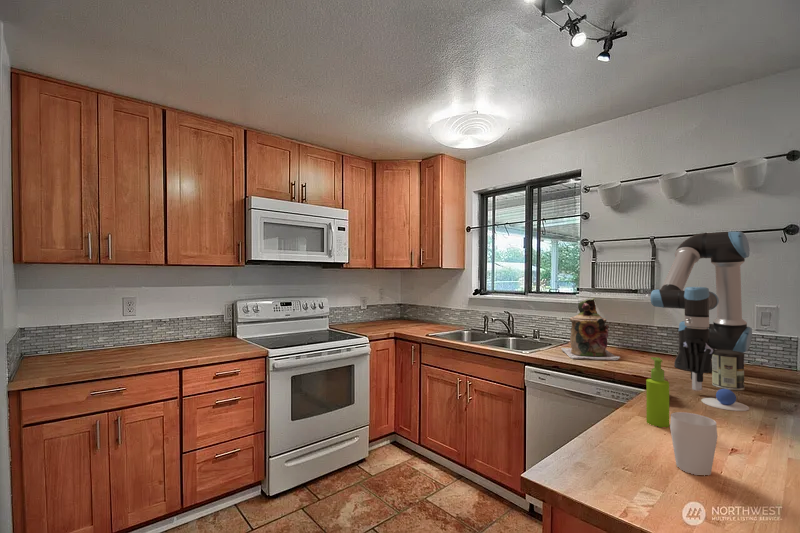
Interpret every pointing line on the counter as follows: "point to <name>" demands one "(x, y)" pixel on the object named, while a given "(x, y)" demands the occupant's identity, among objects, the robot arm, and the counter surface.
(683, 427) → the cup
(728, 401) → the ball
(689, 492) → the counter surface
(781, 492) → the counter surface
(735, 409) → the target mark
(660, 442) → the counter surface
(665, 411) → the soap dispenser
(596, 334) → the cookie jar
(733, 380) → the coffee can
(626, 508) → the counter surface
